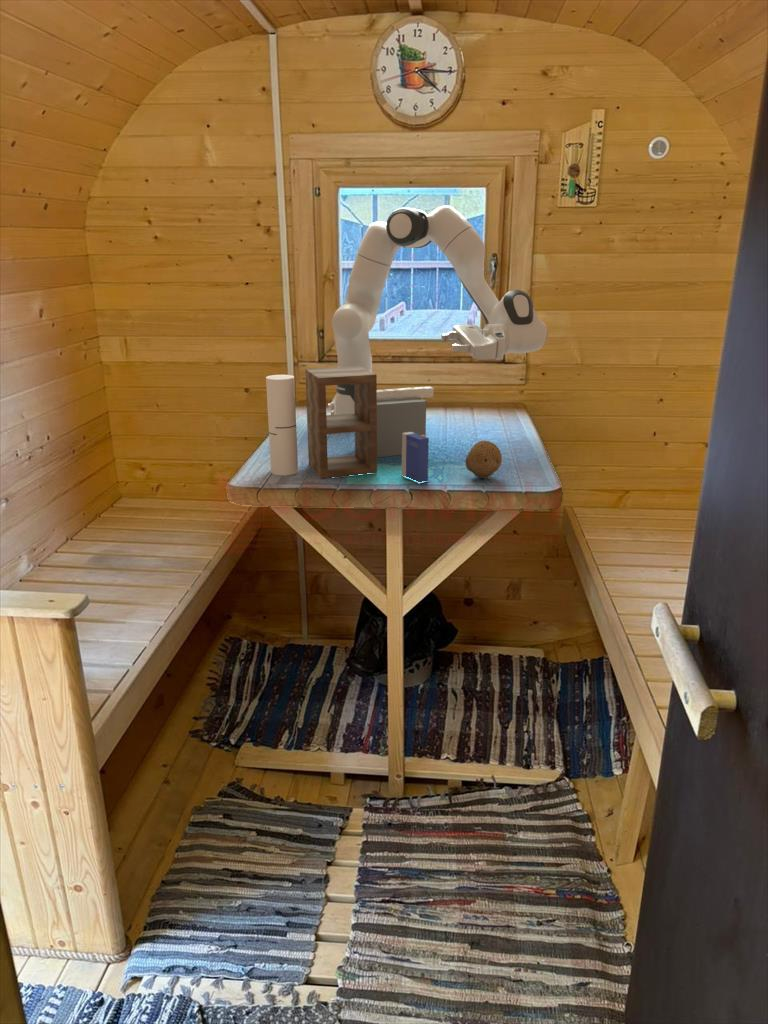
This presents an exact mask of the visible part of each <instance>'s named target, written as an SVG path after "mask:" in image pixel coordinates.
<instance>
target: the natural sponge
mask: <svg viewBox="0 0 768 1024" xmlns="http://www.w3.org/2000/svg"><path fill="white" fill-rule="evenodd" d="M502 457H503V456H502V451H501V450H500V448H499V447H498V446H497V444H496V443H494V442H491V441H489V440H481V441H479V442H476V443H475V444H473V446H472V447H471V448H470V450H469V452H468V454H467V456H466V458H465V462H464V463H465V467H466V469H467V470H468V471H469V472H471V473H472V474H473V475H475V476H476V477H477V478H480V479H482V478H483V479H484V478H485V479H488V478H489V477H491V476H493V474H495V472H497V471H498V470H499V468H500V467H501V465H502V462H503V458H502ZM483 479H482V480H483Z"/></svg>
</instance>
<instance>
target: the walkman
mask: <svg viewBox="0 0 768 1024" xmlns="http://www.w3.org/2000/svg"><path fill="white" fill-rule="evenodd" d="M429 443H430V442H429V437H428V436H427V435H426V436H425V435H419V434H416V433H413V432H406V433H402V455H401V476H402V475H403V476H406V477H409V478H411V479H413V480H416V481H418V482H422V481H429V476H428V475H429V445H430V444H429Z"/></svg>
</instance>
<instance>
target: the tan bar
mask: <svg viewBox="0 0 768 1024" xmlns="http://www.w3.org/2000/svg"><path fill="white" fill-rule="evenodd" d="M434 390H435V388H434V387H432V386H430V385H429V386H417V387H416V386H415V387H400V388H399V387H398V388H385V389H383V388H382V389H377V401H383V400H397V399H411V398H421V399H424V398H434V397H435V396H434V393H435V392H434Z"/></svg>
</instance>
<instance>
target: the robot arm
mask: <svg viewBox="0 0 768 1024" xmlns="http://www.w3.org/2000/svg"><path fill="white" fill-rule="evenodd" d="M431 242H432V243H434V244H435V245H436V246H437V247H438V248H439V250H440V251H441V252H442V254H443V255H444V256H445V258H446V259H447V261H449V263H450V264H451V265H452V267H453V269H454V271H455V273H456V275H457V276H458V279H459V280H460V282H461V284H462V286H463V288H464V289H465V291H466V292H467V293H468V296H469V297H470V299H471V300H472V301H473V303H474V304H475V306H476V307H477V309H478V310H479V312H480V314H481V315H482V316H483V319H484V322H485V325H484V327H483V328H481V327H479V326H478V325H477V324H456V325H453V326H452V331H448V332H447V333H446V332H445V333H441V334H440V335H441V340H442V341H443V342H445V341H446V342H448V341H449V340H455V341H456V342H457V343H453V344H451V347H450V348H451V351H452V352H453V353H464V354H469V356H470V357H472V358H473V359H474V360H475V359H476V360H494V359H495V360H496V361H502V360H503V359H504V355H507V354H510V353H513V354H515V355H516V354H517V355H518V354H526V353H527V354H528V353H534V352H537V351H540V350H541V349H542V348H543V347H544V346H545V344H546V342H547V339H548V331H549V330H548V326H547V325H546V323H545V322H544V321H543V320H541V319H540V317H539V315H538V314H537V311H536V310H535V307H534V303H533V302H534V301H533V300H532V298H531V297H530V295H529V294H528V293H527V292H525V291H523V290H520V289H511V290H509V291H507V292H506V293H505V294H504V295H503V296H502V298H501V299H500V300H499V299H498V298H497V296H496V294H495V292H494V291H493V290H492V289H491V287H490V286H489V285H488V282H487V280H486V278H485V273H484V266H485V265H484V262H485V255H486V249H485V248H486V247H485V244H484V242H483V238H482V237H481V236H480V234H479V233H478V232H477V230H476V229H475V228H474V227H473V225H472V224H471V223H470V222H469V221H468V220H467V219H466V218H465V217H464V216H463V215H462V214H461V213H460V212H459V211H457V210H456V209H455V208H454V207H453V206H450V205H448V204H447V205H446V204H445V205H442V206H439V207H437V208H435V209H434V210H432V211H431V213H428V212H427V211H423V210H422V209H419V208H414V207H407V206H406V207H400V208H397V209H395V210H393V211H392V212H391V213H390V214H389V216H388V218H387V220H386V222H385V221H375V222H372V223H370V224H369V225H368V228H367V229H366V231H365V233H364V235H363V237H362V239H361V241H360V245H359V247H358V248H357V249H358V250H357V252H356V256H355V259H354V262H353V265H352V268H351V271H350V274H349V278H348V287H347V292H346V296H345V300H344V301H345V302H344V304H343V305H341V306H339V307H338V308H337V309H336V310H335V312H334V313H333V316H332V320H331V326H332V330H333V337H334V343H335V349H336V355H337V367H350V366H361V367H363V368H365V369H367V370H369V371H371V372H373V355H372V353H371V352H372V351H371V345H370V336H369V332H371V330H372V329H373V327H374V325H375V322H376V319H377V316H378V311H379V308H380V304H381V301H382V300H381V299H382V295H383V291H384V288H385V286H386V282H387V280H388V276H389V273H390V271H391V268H392V267H391V266H392V264H393V261H394V258H395V256H396V253H397V252H398V250H399V249H400V248H404V249H405V248H408V249H422V248H424V247H426V246H428V245H430V244H431ZM335 388H336V391H335V392H336V394H335V395H334V397H333V399H332V401H331V402H328V403H327V410H328V411H330V412H329V413H326V415H337V414H351V413H355V409H354V384H345V385H335Z"/></svg>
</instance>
